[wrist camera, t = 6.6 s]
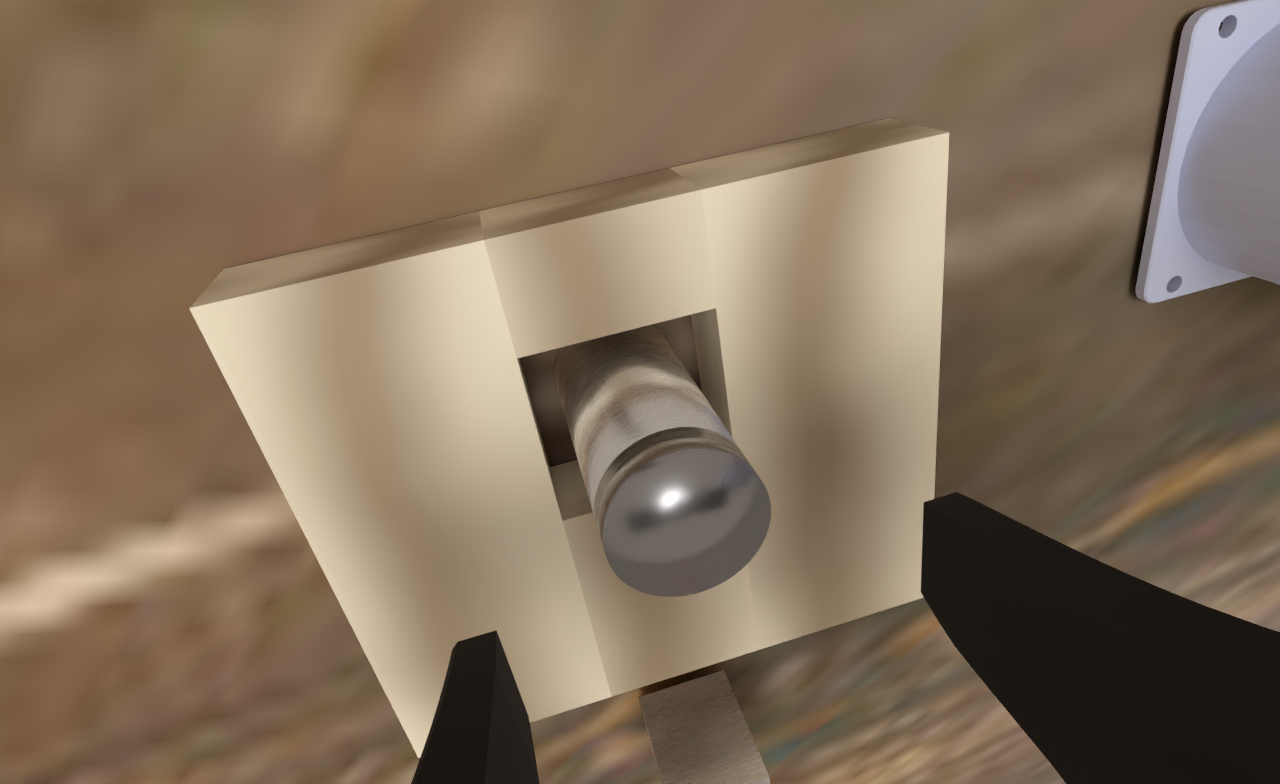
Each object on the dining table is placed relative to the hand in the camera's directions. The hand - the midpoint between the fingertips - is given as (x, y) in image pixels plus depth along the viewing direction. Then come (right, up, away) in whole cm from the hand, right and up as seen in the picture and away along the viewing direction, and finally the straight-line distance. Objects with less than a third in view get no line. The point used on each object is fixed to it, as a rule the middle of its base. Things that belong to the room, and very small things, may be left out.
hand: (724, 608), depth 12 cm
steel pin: (-2, +4, +8) cm, 9 cm away
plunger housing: (0, -7, +14) cm, 16 cm away
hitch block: (-2, +2, +9) cm, 9 cm away
